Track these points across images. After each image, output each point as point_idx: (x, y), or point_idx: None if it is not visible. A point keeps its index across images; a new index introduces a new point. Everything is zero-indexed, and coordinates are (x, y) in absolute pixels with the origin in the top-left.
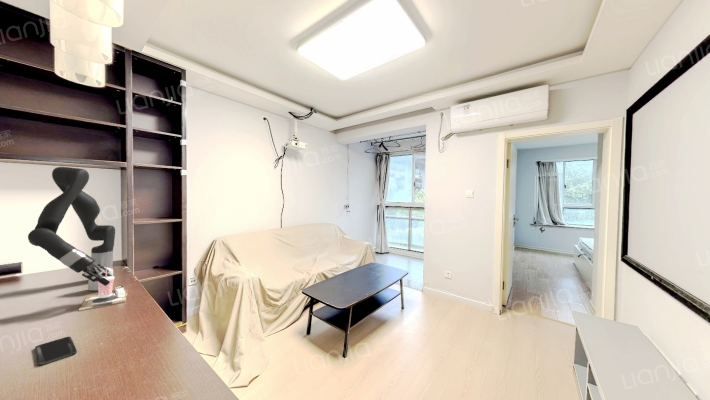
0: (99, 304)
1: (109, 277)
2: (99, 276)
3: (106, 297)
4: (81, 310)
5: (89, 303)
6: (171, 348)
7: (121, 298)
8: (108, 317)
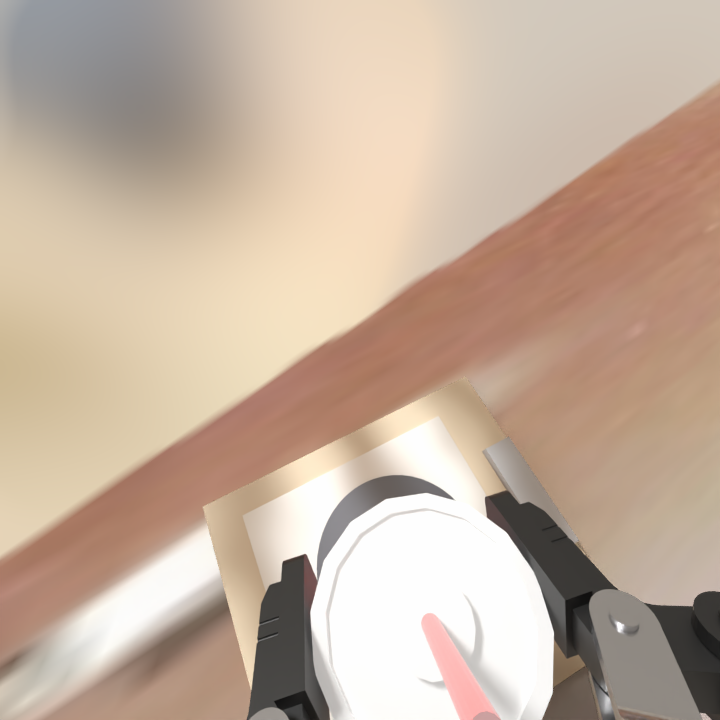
0: (553, 506)
1: (383, 588)
2: (668, 657)
3: None
4: None
5: None
6: None
7: (405, 434)
8: (683, 337)
